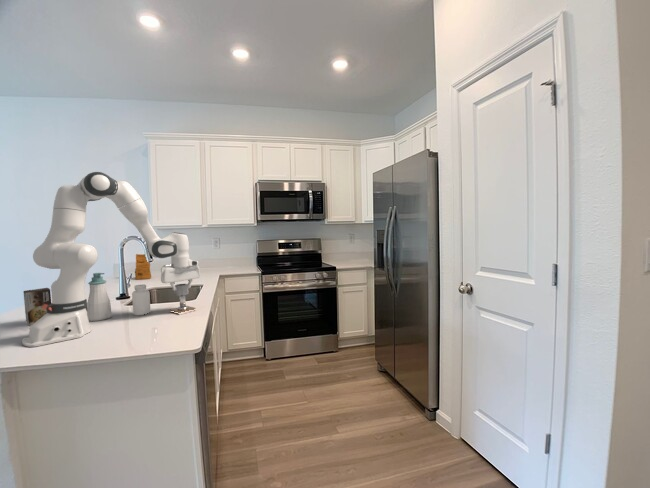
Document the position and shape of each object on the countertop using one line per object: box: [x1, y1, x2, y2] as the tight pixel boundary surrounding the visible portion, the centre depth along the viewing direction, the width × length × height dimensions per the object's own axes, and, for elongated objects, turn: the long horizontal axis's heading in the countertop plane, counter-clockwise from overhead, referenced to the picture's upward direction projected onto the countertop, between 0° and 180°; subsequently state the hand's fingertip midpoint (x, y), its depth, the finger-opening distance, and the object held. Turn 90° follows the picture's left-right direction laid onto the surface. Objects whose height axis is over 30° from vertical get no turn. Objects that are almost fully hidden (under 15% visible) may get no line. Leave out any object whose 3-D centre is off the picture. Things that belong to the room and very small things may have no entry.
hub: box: [174, 283, 190, 297], centre depth 168 cm, size 6×6×5 cm
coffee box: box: [23, 287, 52, 327], centre depth 153 cm, size 9×6×16 cm
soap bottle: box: [87, 272, 112, 322], centre depth 158 cm, size 10×10×23 cm
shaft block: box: [169, 295, 196, 313], centre depth 169 cm, size 9×9×10 cm
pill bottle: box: [131, 284, 151, 316], centre depth 166 cm, size 8×8×15 cm
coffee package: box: [134, 253, 152, 281], centre depth 280 cm, size 10×12×22 cm
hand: (181, 289), depth 168 cm, fingers closed on hub, 6 cm apart
